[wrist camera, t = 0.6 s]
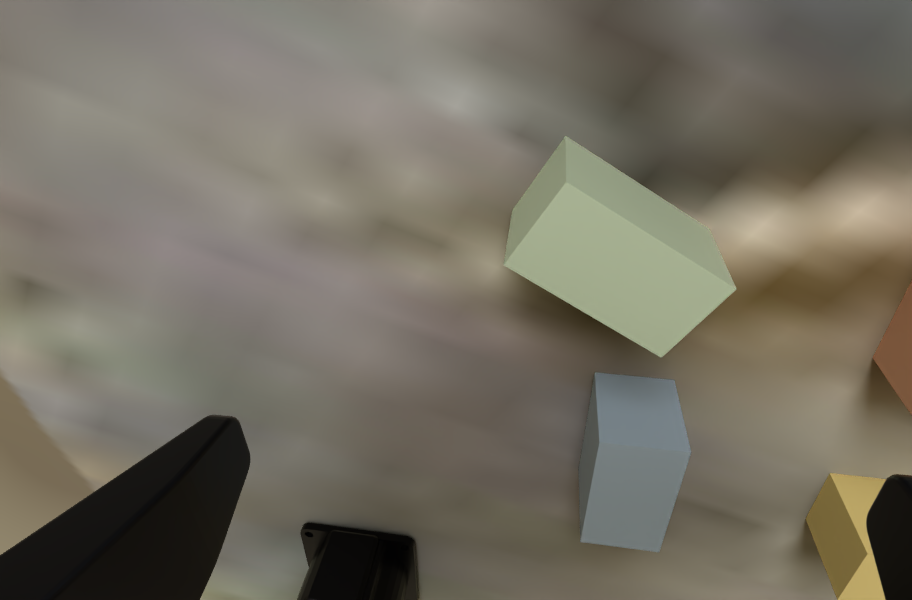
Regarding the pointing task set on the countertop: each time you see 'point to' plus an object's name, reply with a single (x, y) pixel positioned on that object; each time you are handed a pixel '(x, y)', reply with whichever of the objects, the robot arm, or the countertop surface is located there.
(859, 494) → the ochre block
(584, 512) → the slate-blue block
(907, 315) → the terracotta block
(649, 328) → the sage block
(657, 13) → the countertop surface
